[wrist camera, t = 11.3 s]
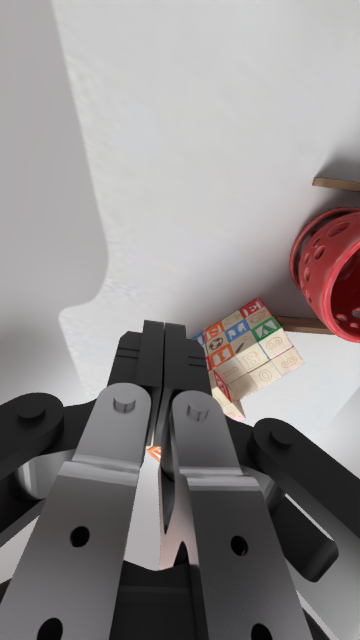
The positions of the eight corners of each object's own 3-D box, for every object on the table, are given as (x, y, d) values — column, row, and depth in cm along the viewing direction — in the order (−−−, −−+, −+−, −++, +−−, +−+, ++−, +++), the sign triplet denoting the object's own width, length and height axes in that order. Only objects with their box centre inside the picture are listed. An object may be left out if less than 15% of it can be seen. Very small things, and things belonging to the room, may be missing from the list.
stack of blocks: (257, 295, 41) (294, 341, 30) (278, 327, 44) (318, 380, 33) (135, 373, 45) (128, 438, 34) (160, 398, 48) (160, 466, 37)
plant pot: (267, 228, 37) (312, 251, 26) (374, 184, 35) (467, 190, 25) (289, 315, 43) (333, 364, 32) (381, 281, 41) (460, 320, 30)
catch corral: (314, 177, 35) (327, 178, 32) (425, 192, 36) (446, 194, 34) (273, 320, 43) (281, 330, 40) (365, 328, 44) (378, 338, 42)
